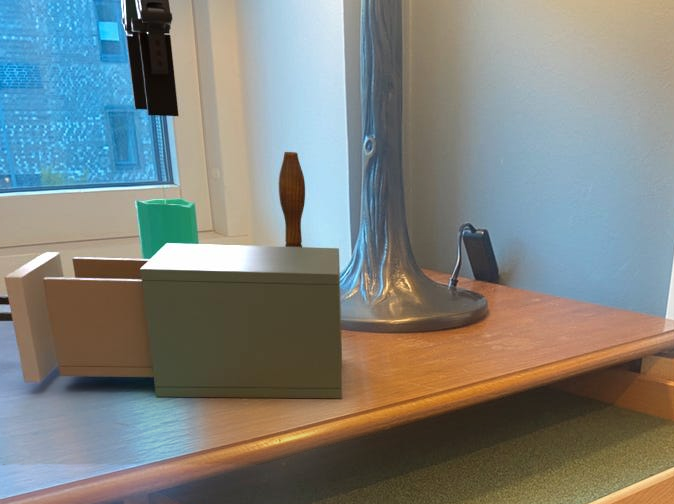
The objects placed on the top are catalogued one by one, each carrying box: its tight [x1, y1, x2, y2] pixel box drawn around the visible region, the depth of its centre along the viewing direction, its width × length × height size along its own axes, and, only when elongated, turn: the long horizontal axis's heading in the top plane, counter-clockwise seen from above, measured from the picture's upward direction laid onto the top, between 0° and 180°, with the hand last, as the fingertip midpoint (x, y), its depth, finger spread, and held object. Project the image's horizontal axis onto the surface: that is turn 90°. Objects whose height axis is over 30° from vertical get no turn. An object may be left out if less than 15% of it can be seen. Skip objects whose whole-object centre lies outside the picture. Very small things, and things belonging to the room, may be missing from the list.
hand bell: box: [278, 151, 306, 247], centre depth 97 cm, size 8×8×16 cm
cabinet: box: [140, 243, 343, 399], centre depth 80 cm, size 15×13×10 cm
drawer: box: [0, 251, 154, 383], centre depth 78 cm, size 18×11×8 cm, turn 97°
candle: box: [134, 184, 200, 259], centre depth 102 cm, size 6×6×12 cm
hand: (155, 112), depth 95 cm, fingers open, 13 cm apart
